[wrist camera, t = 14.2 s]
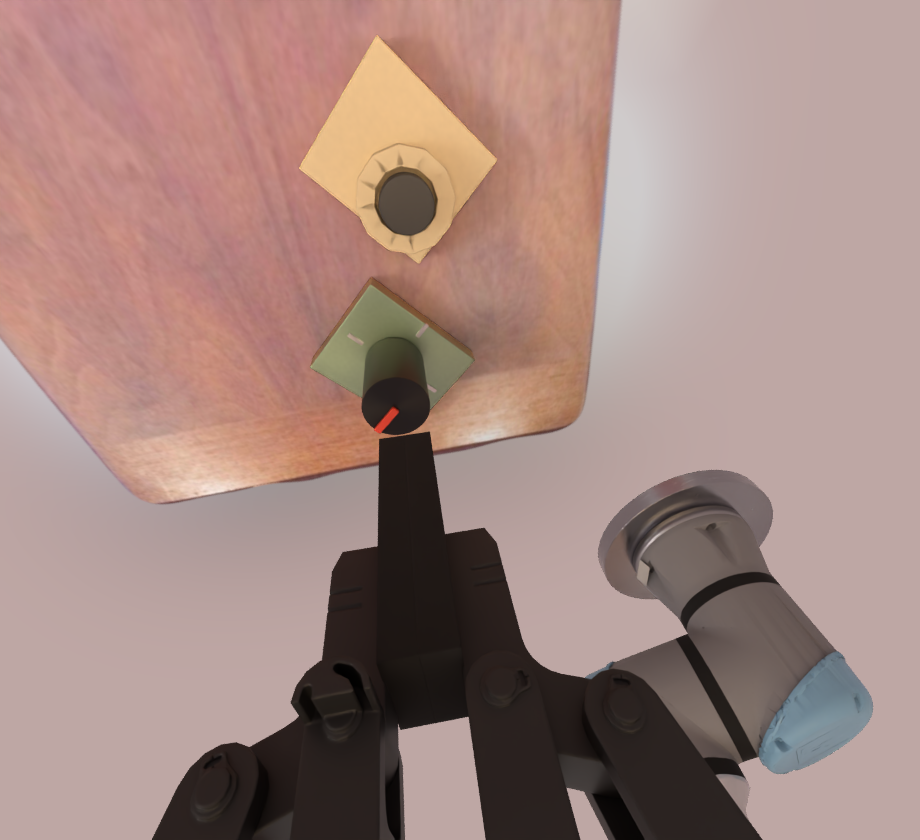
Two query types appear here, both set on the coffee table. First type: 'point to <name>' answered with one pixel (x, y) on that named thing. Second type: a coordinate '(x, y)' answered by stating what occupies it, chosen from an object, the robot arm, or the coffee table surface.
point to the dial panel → (389, 318)
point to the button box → (395, 149)
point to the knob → (395, 387)
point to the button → (406, 203)
